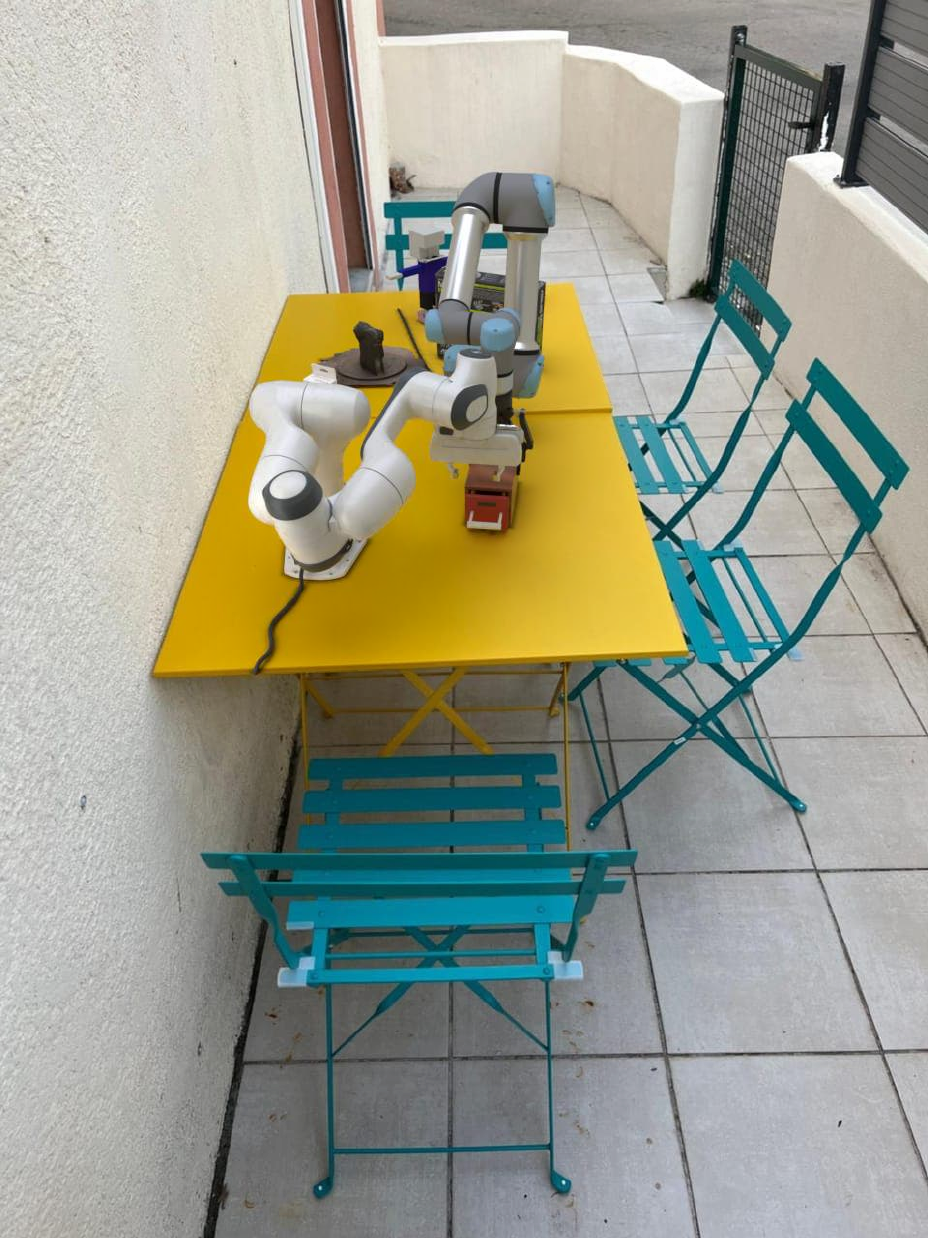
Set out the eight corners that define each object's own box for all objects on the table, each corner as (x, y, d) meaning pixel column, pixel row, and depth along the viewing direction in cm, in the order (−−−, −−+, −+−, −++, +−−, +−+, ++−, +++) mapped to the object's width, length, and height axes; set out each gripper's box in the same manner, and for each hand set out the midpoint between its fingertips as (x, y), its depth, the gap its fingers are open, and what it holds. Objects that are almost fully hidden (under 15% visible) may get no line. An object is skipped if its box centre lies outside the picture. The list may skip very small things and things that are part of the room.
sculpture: (406, 397, 263) (403, 345, 252) (297, 384, 270) (290, 333, 259) (437, 352, 287) (436, 303, 277) (336, 341, 294) (331, 293, 284)
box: (542, 365, 279) (547, 279, 262) (535, 374, 274) (539, 287, 257) (444, 349, 289) (443, 265, 272) (435, 358, 284) (433, 273, 266)
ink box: (306, 417, 253) (300, 368, 244) (316, 410, 257) (310, 362, 247) (331, 424, 250) (326, 375, 241) (341, 416, 254) (336, 368, 244)
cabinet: (510, 527, 211) (512, 489, 204) (464, 524, 212) (464, 485, 205) (517, 483, 226) (519, 445, 219) (474, 480, 227) (475, 443, 220)
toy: (460, 304, 319) (459, 216, 299) (477, 312, 313) (477, 222, 294) (381, 329, 302) (375, 237, 283) (398, 337, 296) (393, 244, 277)
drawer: (504, 545, 203) (505, 513, 198) (462, 542, 204) (462, 510, 199) (514, 488, 222) (515, 457, 217) (475, 485, 223) (475, 455, 218)
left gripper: (525, 418, 191) (523, 474, 200) (431, 413, 193) (433, 468, 202) (523, 432, 186) (520, 489, 195) (427, 427, 188) (429, 483, 197)
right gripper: (548, 384, 206) (543, 466, 221) (448, 378, 209) (450, 460, 223) (546, 398, 201) (541, 482, 215) (443, 393, 203) (445, 475, 217)
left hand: (475, 478), depth 198 cm, fingers open, 8 cm apart
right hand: (494, 471), depth 219 cm, fingers closed on cabinet, 11 cm apart
